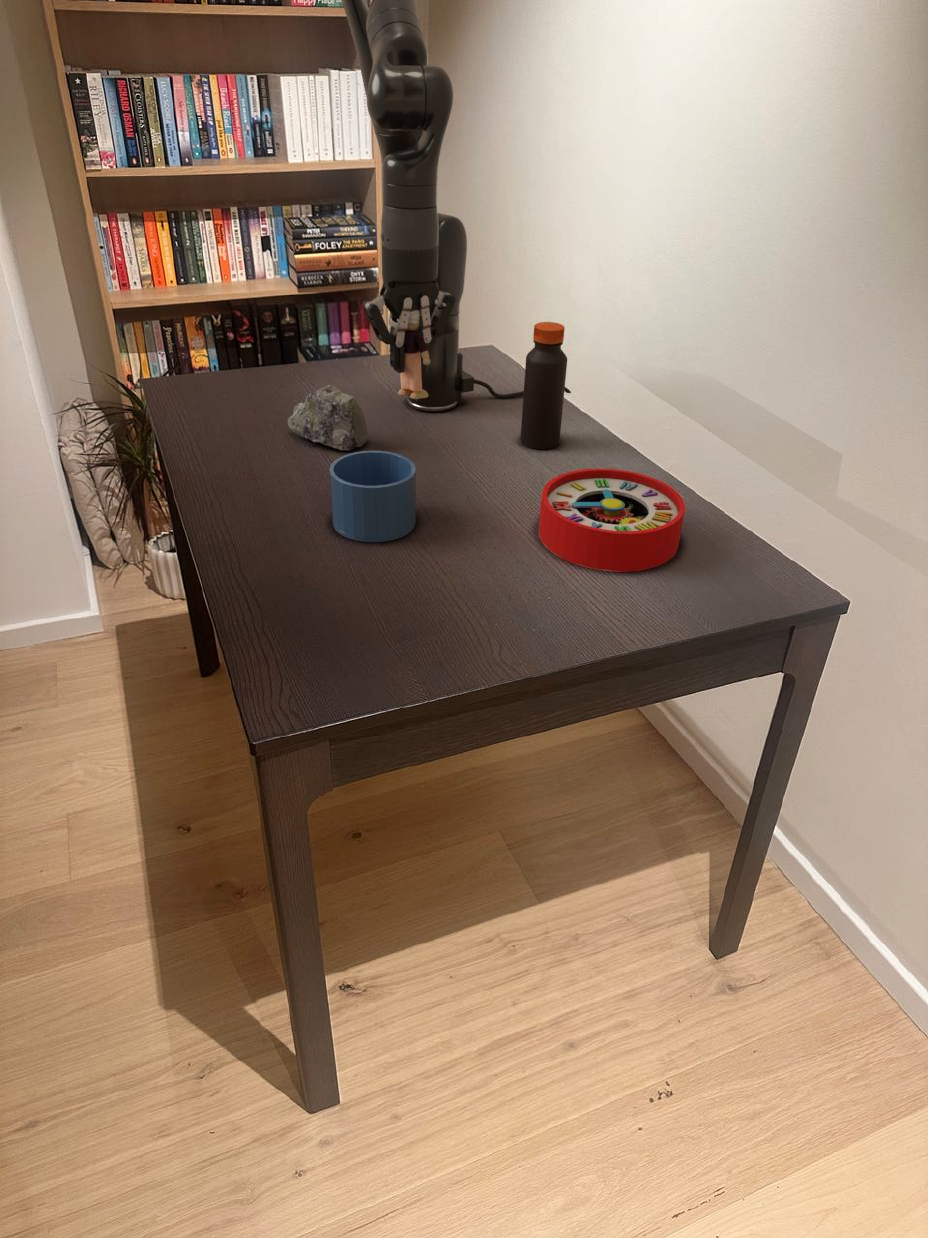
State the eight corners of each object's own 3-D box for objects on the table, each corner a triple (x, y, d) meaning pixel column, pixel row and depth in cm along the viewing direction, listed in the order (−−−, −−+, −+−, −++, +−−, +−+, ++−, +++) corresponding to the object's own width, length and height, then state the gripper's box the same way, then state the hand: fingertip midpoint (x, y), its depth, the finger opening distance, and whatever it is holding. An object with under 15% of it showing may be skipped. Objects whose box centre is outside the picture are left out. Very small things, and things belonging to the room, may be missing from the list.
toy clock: (703, 533, 120) (553, 534, 118) (695, 571, 123) (549, 572, 122) (664, 468, 136) (532, 468, 135) (658, 503, 140) (529, 503, 138)
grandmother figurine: (439, 394, 132) (441, 305, 125) (426, 402, 129) (426, 311, 122) (395, 384, 135) (394, 296, 128) (380, 392, 132) (379, 302, 125)
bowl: (392, 496, 139) (391, 444, 134) (430, 530, 130) (431, 476, 126) (319, 513, 134) (316, 460, 129) (354, 550, 125) (351, 494, 120)
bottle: (514, 445, 156) (522, 328, 145) (527, 431, 161) (536, 317, 150) (552, 453, 154) (563, 334, 143) (564, 438, 159) (575, 323, 148)
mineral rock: (285, 432, 158) (280, 375, 152) (341, 421, 163) (338, 366, 157) (316, 460, 149) (312, 401, 143) (374, 447, 154) (373, 389, 148)
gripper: (374, 251, 114) (376, 385, 124) (470, 242, 120) (465, 370, 130) (349, 239, 120) (353, 368, 129) (442, 231, 126) (439, 355, 135)
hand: (409, 368), depth 130 cm, fingers closed on grandmother figurine, 3 cm apart
